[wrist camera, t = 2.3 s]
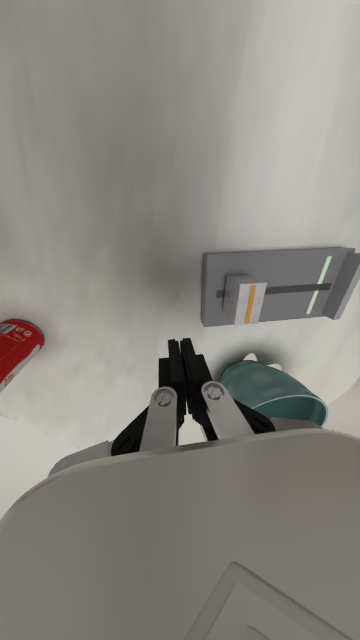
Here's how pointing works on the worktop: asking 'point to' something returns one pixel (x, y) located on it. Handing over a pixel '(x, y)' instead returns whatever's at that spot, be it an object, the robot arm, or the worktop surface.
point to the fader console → (284, 282)
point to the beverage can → (17, 348)
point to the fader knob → (243, 298)
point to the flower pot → (272, 392)
